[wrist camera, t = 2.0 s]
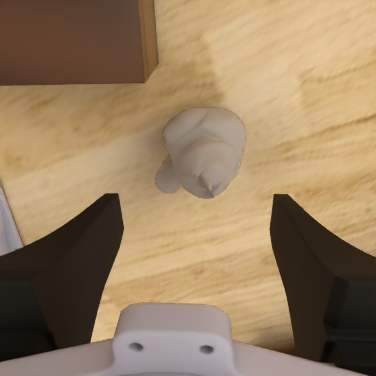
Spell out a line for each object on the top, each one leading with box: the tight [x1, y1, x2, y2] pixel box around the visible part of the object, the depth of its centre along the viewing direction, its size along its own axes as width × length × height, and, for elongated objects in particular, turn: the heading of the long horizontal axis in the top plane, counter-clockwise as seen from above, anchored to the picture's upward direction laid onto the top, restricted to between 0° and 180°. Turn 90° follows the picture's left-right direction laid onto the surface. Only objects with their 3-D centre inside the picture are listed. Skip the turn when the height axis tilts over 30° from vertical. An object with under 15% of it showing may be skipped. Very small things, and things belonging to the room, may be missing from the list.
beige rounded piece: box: [155, 107, 246, 199], centre depth 19 cm, size 5×7×8 cm
